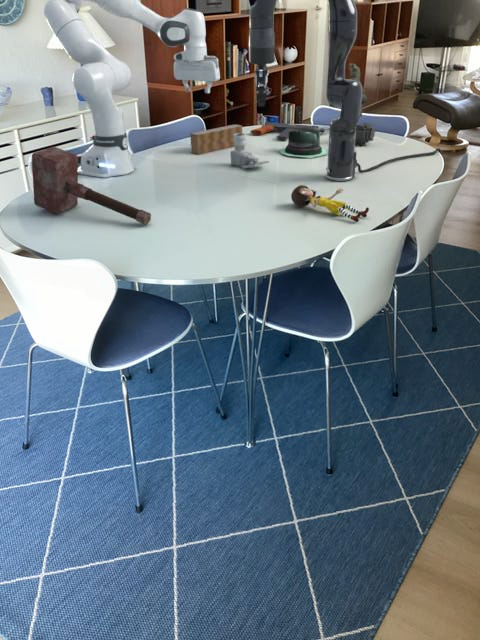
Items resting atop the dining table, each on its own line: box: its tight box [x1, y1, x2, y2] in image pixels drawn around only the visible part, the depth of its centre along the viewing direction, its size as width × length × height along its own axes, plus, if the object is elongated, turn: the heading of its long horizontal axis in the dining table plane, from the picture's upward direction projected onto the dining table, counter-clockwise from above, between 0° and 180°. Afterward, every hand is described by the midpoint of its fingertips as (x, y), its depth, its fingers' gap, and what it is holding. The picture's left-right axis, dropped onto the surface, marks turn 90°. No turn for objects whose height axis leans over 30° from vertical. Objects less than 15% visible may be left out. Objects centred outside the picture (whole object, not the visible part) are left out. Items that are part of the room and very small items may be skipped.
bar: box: [189, 123, 243, 155], centre depth 243 cm, size 26×5×8 cm, turn 132°
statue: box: [348, 62, 368, 125], centre depth 262 cm, size 11×9×30 cm
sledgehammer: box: [31, 146, 152, 226], centre depth 169 cm, size 17×10×40 cm
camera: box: [230, 132, 270, 169], centre depth 214 cm, size 9×12×15 cm
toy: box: [355, 122, 376, 146], centre depth 244 cm, size 9×9×15 cm
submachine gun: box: [250, 121, 326, 141], centre depth 264 cm, size 32×3×25 cm
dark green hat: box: [279, 128, 328, 159], centre depth 234 cm, size 15×19×20 cm
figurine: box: [290, 184, 370, 223], centre depth 170 cm, size 13×8×25 cm
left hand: (197, 92), depth 227 cm, fingers open, 8 cm apart
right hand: (261, 103), depth 171 cm, fingers open, 8 cm apart
